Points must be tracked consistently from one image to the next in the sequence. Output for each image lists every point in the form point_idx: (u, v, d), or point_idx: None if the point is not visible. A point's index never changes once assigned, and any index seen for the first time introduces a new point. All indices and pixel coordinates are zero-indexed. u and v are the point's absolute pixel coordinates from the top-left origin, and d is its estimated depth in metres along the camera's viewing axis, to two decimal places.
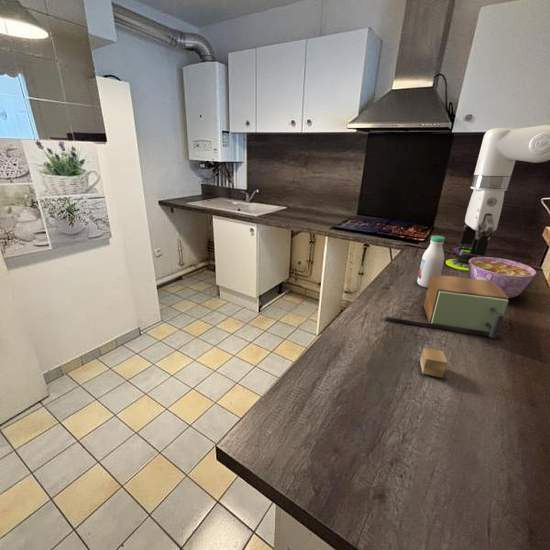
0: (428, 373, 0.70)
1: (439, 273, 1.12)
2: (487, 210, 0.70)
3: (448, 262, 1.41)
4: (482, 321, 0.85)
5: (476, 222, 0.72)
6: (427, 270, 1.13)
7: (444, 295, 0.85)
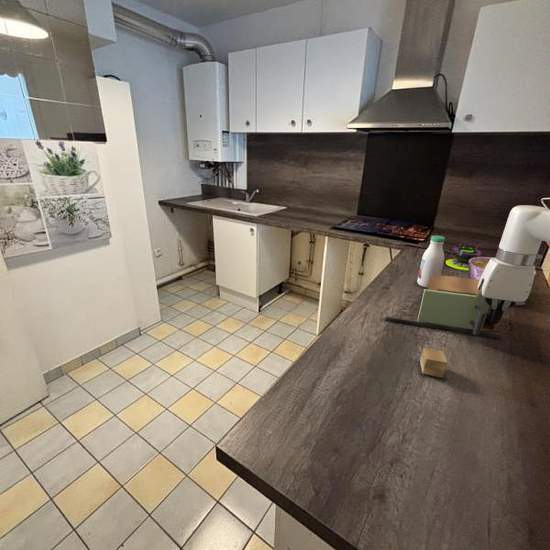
0: (428, 373, 0.70)
1: (439, 273, 1.12)
2: None
3: (448, 262, 1.41)
4: (466, 319, 0.86)
5: (527, 295, 0.72)
6: (427, 270, 1.13)
7: (429, 293, 0.86)
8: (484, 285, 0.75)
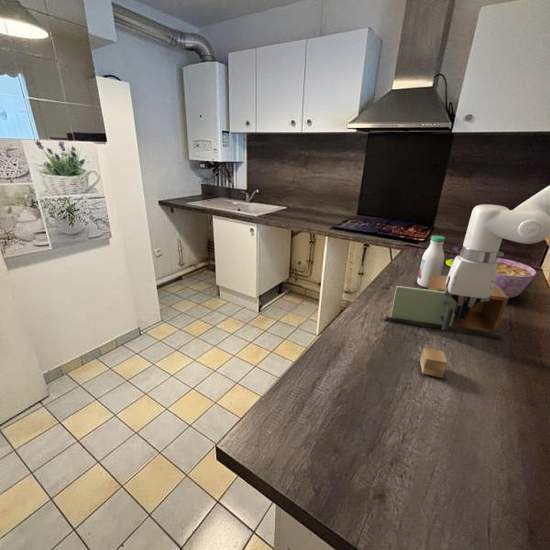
0: (428, 373, 0.70)
1: (439, 273, 1.12)
2: None
3: (448, 262, 1.41)
4: (437, 314, 0.88)
5: (491, 292, 0.74)
6: (427, 270, 1.13)
7: (401, 289, 0.88)
8: (450, 282, 0.77)
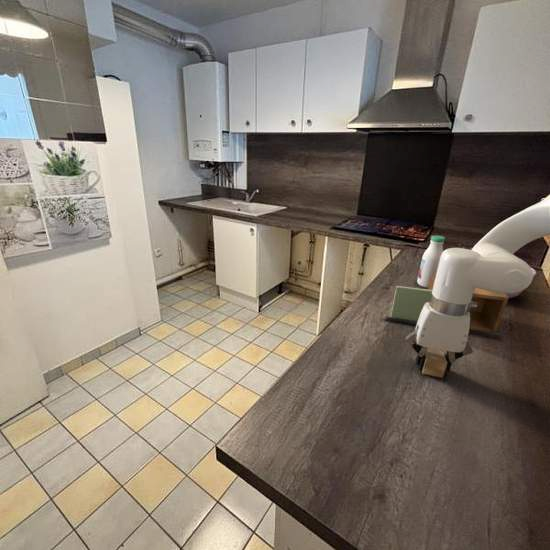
0: (428, 373, 0.70)
1: None
2: None
3: None
4: None
5: (464, 346, 0.65)
6: (427, 270, 1.13)
7: (401, 289, 0.88)
8: (418, 333, 0.68)
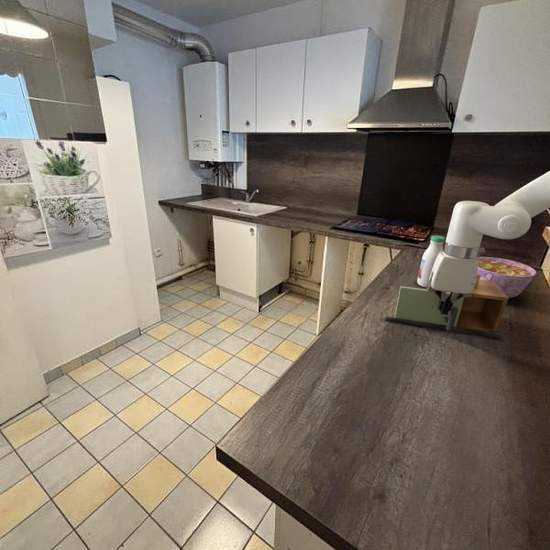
0: None
1: None
2: None
3: None
4: (441, 315, 0.88)
5: (473, 287, 0.75)
6: (427, 270, 1.13)
7: (405, 290, 0.88)
8: (433, 278, 0.78)
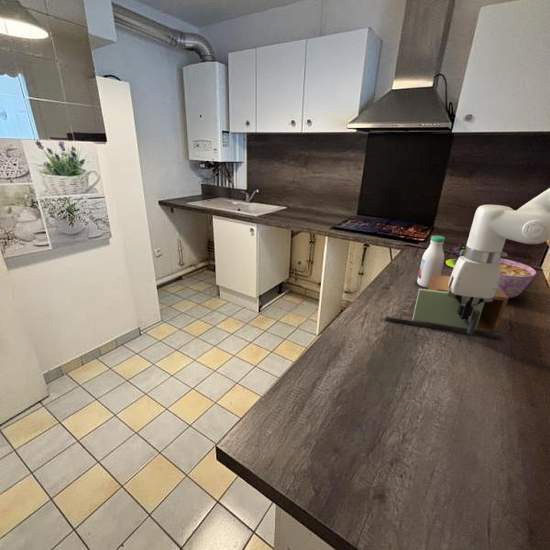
0: None
1: (439, 273, 1.12)
2: None
3: (448, 262, 1.41)
4: None
5: (494, 292, 0.74)
6: (427, 270, 1.13)
7: (424, 292, 0.87)
8: (453, 282, 0.77)
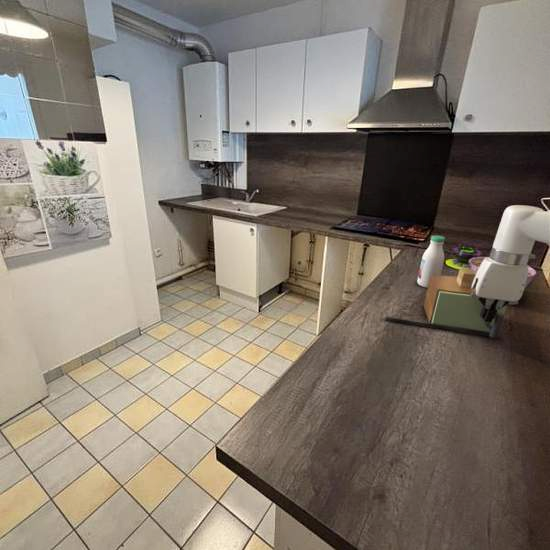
0: (465, 286, 0.87)
1: (439, 273, 1.12)
2: None
3: (448, 262, 1.41)
4: (482, 321, 0.85)
5: (521, 295, 0.73)
6: (427, 270, 1.13)
7: (444, 295, 0.85)
8: (478, 285, 0.75)
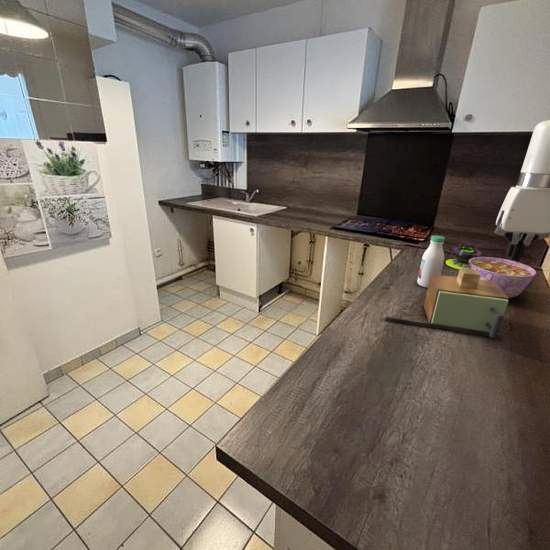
0: (465, 286, 0.87)
1: (439, 273, 1.12)
2: None
3: (448, 262, 1.41)
4: (482, 321, 0.85)
5: None
6: (427, 270, 1.13)
7: (444, 295, 0.85)
8: (504, 216, 0.68)
